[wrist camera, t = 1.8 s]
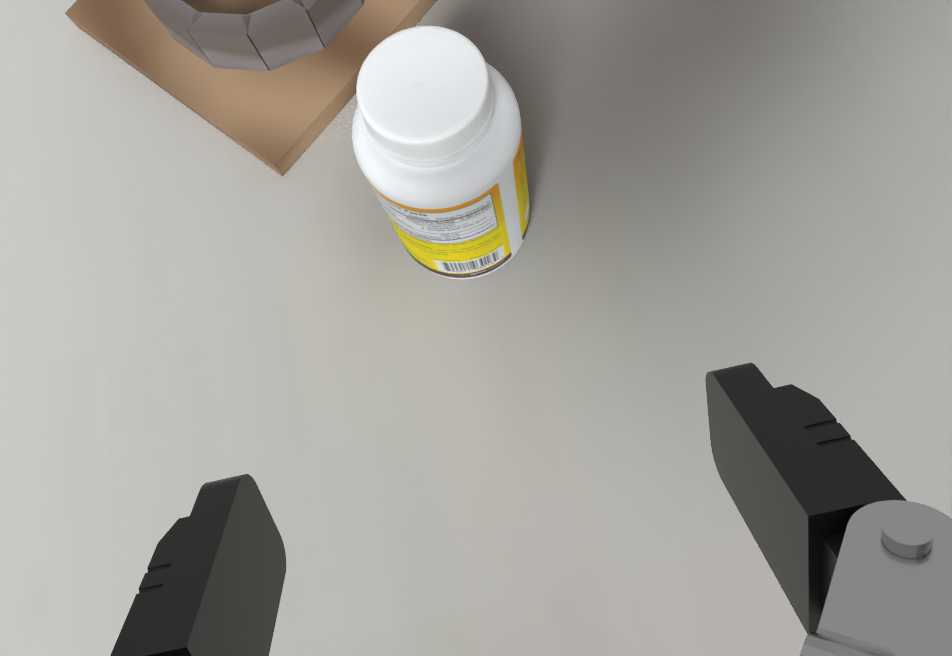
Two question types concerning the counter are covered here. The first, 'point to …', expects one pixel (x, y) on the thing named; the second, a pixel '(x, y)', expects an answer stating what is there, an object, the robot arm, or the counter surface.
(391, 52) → the supplement bottle
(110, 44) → the ring collar
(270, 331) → the counter surface
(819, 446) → the robot arm
